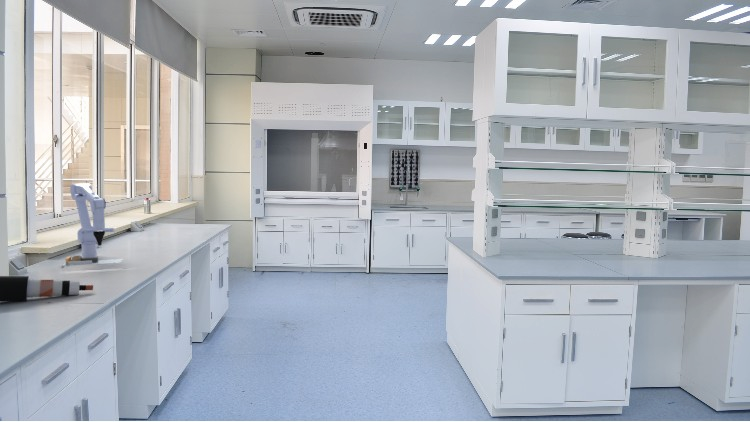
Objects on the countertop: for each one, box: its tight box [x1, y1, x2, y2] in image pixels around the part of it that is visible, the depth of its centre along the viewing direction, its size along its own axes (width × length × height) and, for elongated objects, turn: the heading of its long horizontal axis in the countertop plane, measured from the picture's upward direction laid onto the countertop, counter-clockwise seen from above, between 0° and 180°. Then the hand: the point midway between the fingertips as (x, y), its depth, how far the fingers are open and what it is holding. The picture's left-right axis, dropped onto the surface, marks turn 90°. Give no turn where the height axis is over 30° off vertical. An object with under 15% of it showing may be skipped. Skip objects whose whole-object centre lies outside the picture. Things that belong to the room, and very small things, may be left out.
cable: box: [0, 275, 94, 302], centre depth 217 cm, size 10×34×10 cm, turn 119°
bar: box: [81, 256, 99, 263], centre depth 284 cm, size 2×8×2 cm, turn 108°
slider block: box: [71, 254, 82, 262], centre depth 282 cm, size 3×4×4 cm
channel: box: [61, 255, 123, 268], centre depth 285 cm, size 11×28×4 cm, turn 108°
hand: (99, 245), depth 288 cm, fingers closed
